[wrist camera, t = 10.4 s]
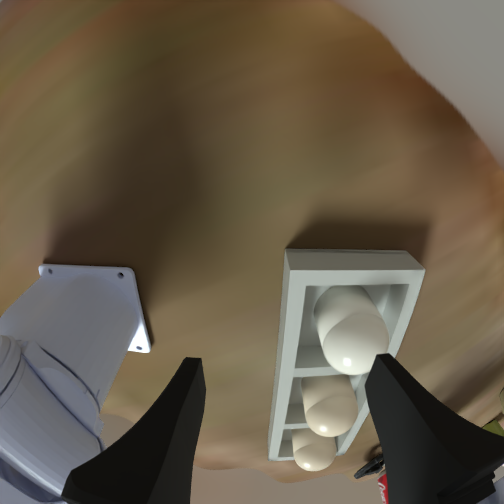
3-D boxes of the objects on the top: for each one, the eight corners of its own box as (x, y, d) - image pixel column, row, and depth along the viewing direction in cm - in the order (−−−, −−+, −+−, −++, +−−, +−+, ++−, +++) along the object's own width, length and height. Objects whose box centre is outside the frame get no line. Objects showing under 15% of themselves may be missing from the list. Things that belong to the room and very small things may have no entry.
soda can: (373, 472, 37) (385, 528, 25) (409, 457, 36) (426, 512, 24) (379, 479, 40) (390, 529, 28) (412, 465, 38) (426, 515, 26)
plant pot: (475, 441, 38) (487, 467, 30) (461, 441, 36) (473, 472, 28) (505, 415, 35) (519, 441, 27) (495, 413, 33) (510, 443, 25)
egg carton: (267, 440, 29) (268, 485, 23) (284, 248, 19) (297, 304, 13) (339, 435, 29) (348, 477, 23) (406, 250, 19) (452, 297, 13)
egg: (309, 333, 21) (322, 392, 16) (317, 283, 19) (336, 340, 14) (363, 330, 21) (386, 384, 16) (375, 282, 19) (409, 333, 14)
